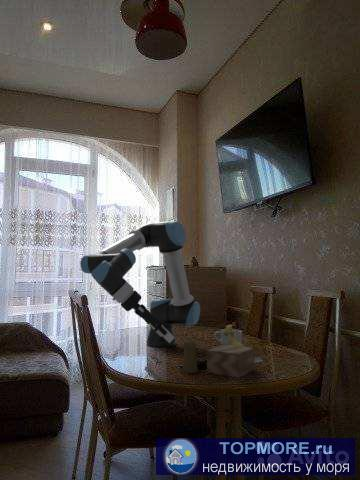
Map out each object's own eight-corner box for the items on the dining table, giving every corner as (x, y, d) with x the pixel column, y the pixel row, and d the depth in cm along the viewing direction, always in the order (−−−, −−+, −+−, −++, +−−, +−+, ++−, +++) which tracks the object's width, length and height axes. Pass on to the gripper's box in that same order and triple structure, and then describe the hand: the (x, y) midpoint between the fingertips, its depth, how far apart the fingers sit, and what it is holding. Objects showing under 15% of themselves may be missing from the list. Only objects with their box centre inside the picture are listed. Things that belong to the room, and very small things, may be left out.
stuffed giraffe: (216, 354, 164) (217, 319, 165) (256, 355, 164) (257, 320, 165) (220, 365, 148) (220, 325, 149) (264, 366, 148) (265, 326, 149)
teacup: (241, 344, 187) (241, 328, 187) (243, 349, 176) (242, 332, 177) (214, 344, 188) (214, 328, 189) (214, 348, 177) (213, 331, 178)
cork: (181, 368, 139) (180, 339, 140) (196, 368, 140) (196, 339, 141) (182, 373, 133) (182, 342, 134) (199, 372, 134) (198, 342, 135)
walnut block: (207, 372, 134) (206, 350, 135) (223, 364, 145) (223, 344, 146) (239, 377, 127) (238, 354, 128) (254, 369, 138) (253, 347, 138)
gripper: (116, 302, 144) (153, 339, 146) (123, 307, 120) (168, 351, 122) (130, 288, 146) (166, 325, 148) (139, 290, 122) (183, 334, 124)
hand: (167, 337), depth 135 cm, fingers open, 13 cm apart
